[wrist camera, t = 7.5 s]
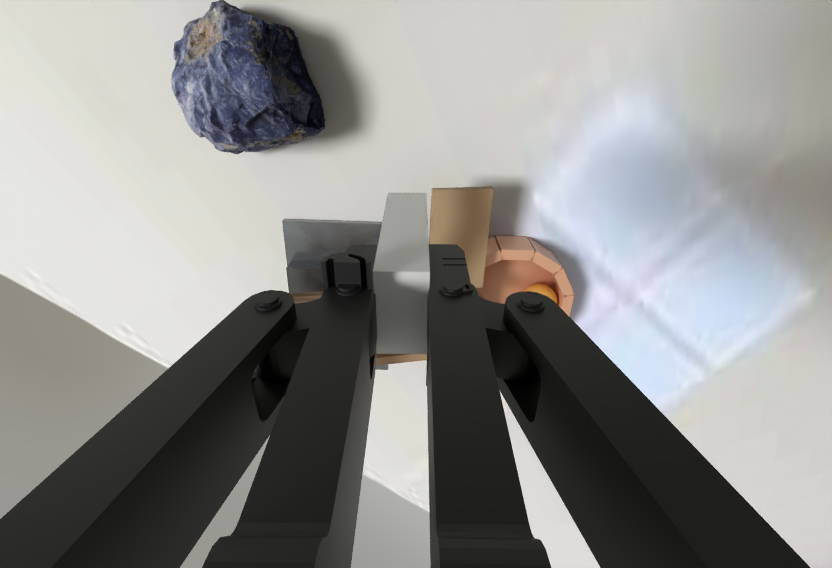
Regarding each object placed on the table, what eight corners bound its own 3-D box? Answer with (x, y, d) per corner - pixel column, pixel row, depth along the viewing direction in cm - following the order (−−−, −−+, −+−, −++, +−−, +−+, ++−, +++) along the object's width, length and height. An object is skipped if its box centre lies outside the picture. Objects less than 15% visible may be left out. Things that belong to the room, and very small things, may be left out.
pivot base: (297, 339, 49) (277, 386, 42) (284, 218, 42) (257, 250, 35) (401, 342, 49) (398, 390, 42) (403, 222, 42) (400, 255, 35)
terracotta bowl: (449, 233, 43) (451, 247, 40) (572, 237, 43) (584, 252, 40) (442, 336, 48) (443, 355, 45) (551, 339, 48) (559, 359, 45)
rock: (352, 128, 36) (254, 139, 28) (272, 156, 42) (172, 171, 34) (313, -18, 33) (192, -51, 25) (232, 34, 39) (114, 20, 31)
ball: (517, 278, 44) (530, 295, 41) (551, 277, 45) (566, 294, 41) (512, 308, 46) (524, 327, 43) (545, 307, 46) (559, 326, 43)
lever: (278, 348, 41) (275, 377, 37) (255, 186, 34) (249, 203, 30) (468, 330, 44) (482, 355, 41) (484, 181, 37) (502, 195, 34)
